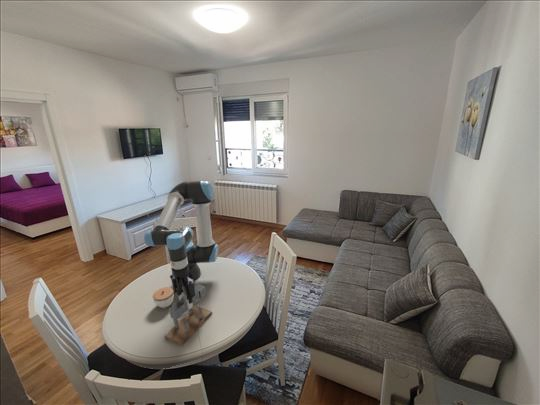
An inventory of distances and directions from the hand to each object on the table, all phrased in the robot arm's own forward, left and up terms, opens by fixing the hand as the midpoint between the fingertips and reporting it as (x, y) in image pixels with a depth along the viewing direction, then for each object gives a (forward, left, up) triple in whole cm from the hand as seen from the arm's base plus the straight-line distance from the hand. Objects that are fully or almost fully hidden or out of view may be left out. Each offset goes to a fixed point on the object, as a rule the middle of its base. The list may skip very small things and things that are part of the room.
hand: (186, 306), depth 120 cm
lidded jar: (-6, -24, -12) cm, 28 cm away
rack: (0, 0, -12) cm, 12 cm away
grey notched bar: (-2, 0, 0) cm, 2 cm away
